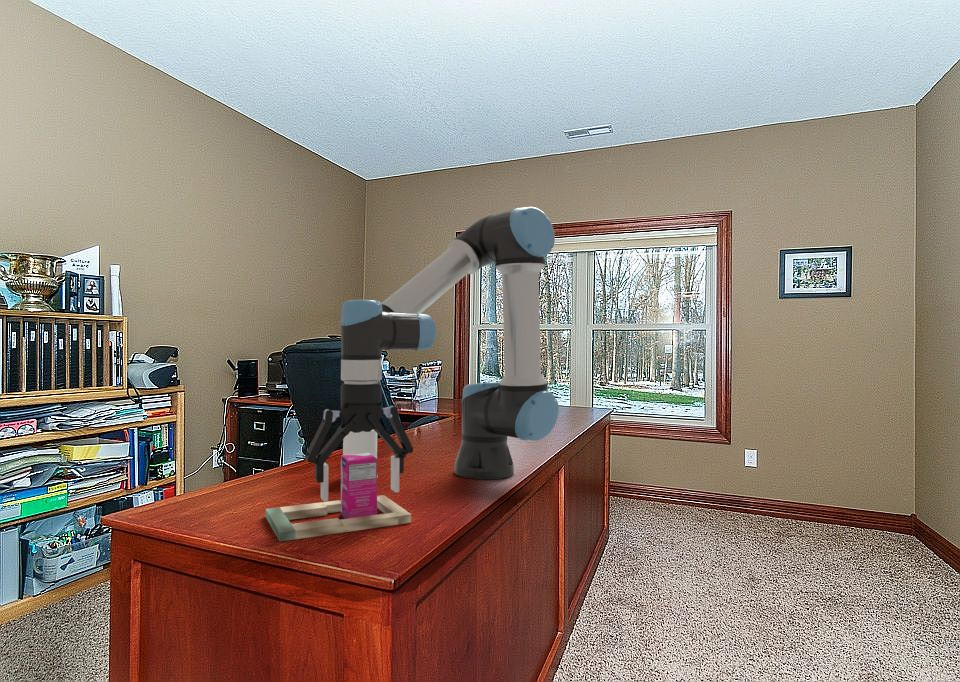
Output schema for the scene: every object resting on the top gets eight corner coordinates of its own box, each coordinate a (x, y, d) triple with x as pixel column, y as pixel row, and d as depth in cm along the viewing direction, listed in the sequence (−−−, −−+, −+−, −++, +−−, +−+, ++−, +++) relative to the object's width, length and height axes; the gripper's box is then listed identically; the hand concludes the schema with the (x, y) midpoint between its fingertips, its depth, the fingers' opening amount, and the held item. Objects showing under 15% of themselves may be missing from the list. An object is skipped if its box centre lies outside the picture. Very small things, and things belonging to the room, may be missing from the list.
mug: (357, 470, 147) (357, 423, 147) (388, 472, 145) (389, 425, 145) (335, 481, 136) (335, 430, 136) (368, 483, 134) (369, 432, 134)
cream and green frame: (383, 502, 118) (383, 495, 118) (411, 522, 105) (411, 514, 105) (265, 516, 107) (265, 508, 107) (279, 541, 94) (279, 532, 94)
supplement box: (339, 514, 109) (340, 454, 109) (370, 511, 112) (371, 452, 112) (346, 523, 104) (347, 460, 104) (378, 519, 106) (379, 457, 107)
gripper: (415, 379, 117) (414, 483, 117) (288, 382, 105) (288, 498, 105) (430, 381, 111) (429, 491, 111) (297, 385, 99) (296, 509, 99)
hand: (360, 495), depth 108 cm, fingers open, 13 cm apart
